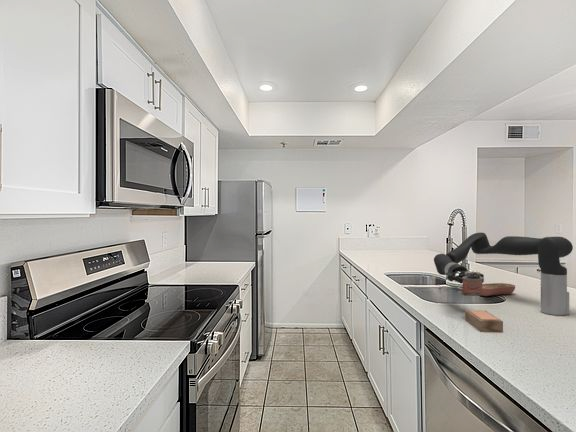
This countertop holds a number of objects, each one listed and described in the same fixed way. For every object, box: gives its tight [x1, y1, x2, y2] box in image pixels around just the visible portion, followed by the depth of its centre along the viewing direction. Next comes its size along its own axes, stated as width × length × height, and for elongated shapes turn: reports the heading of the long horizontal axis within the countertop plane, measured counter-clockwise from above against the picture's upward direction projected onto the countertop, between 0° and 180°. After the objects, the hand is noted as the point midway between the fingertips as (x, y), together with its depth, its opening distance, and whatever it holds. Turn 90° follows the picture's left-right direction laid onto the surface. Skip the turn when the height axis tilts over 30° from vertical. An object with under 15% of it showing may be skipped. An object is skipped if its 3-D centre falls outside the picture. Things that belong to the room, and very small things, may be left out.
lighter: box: [460, 270, 483, 297], centre depth 148 cm, size 8×3×10 cm, turn 86°
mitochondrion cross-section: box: [481, 282, 516, 297], centre depth 189 cm, size 23×10×5 cm, turn 106°
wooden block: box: [464, 309, 504, 333], centre depth 139 cm, size 8×14×4 cm, turn 175°
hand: (471, 280), depth 149 cm, fingers closed on lighter, 8 cm apart
